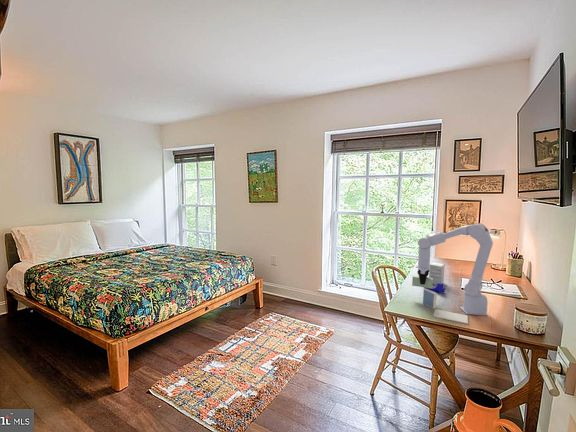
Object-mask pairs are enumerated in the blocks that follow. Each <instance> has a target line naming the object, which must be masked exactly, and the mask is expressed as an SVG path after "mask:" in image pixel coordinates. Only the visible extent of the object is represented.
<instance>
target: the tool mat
mask: <svg viewBox="0 0 576 432" xmlns="http://www.w3.org/2000/svg"><path fill="white" fill-rule="evenodd" d="M433 318H437V319H442V320H445V321H447V320H448V321H451V322H456V323H459V324H461V323H462V324H465V325H466V324H467V325H469V317H468V314H462V313H457V312H456V313H455V312H452V311H446V310H441V309H437V308H435V309H434V312H433Z"/></svg>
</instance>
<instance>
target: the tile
mask: <svg viewBox="0 0 576 432" xmlns="http://www.w3.org/2000/svg"><path fill="white" fill-rule="evenodd" d="M437 295H438V293H436V292H434V291H431V290H429V289H427V288H423V296H422V304H423V305H424V306H427V307H429V308H431V309H433V310H435V309H437Z"/></svg>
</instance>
